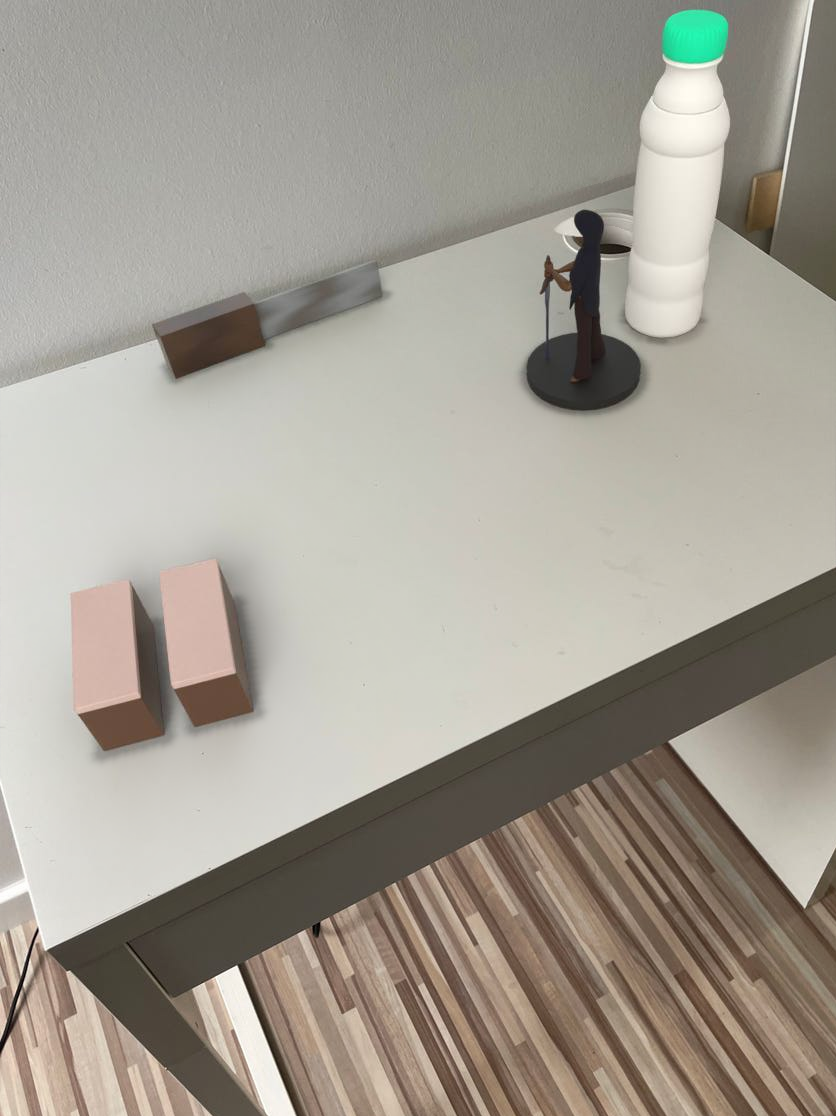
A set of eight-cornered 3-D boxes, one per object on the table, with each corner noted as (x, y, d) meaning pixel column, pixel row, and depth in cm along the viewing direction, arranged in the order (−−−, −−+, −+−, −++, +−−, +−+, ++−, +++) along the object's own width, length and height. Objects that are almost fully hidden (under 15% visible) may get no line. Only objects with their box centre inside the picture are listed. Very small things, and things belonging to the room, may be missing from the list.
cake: (98, 638, 68) (70, 592, 64) (235, 604, 69) (216, 557, 65) (103, 752, 62) (73, 709, 58) (253, 712, 63) (234, 667, 59)
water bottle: (679, 349, 85) (721, 43, 65) (610, 327, 87) (631, 27, 68) (712, 310, 88) (762, 8, 69) (645, 290, 91) (674, -6, 71)
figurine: (552, 331, 88) (554, 170, 76) (655, 354, 85) (674, 191, 73) (508, 394, 82) (503, 231, 70) (616, 421, 79) (629, 256, 67)
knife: (175, 379, 86) (160, 336, 82) (167, 365, 87) (151, 323, 84) (387, 301, 92) (381, 258, 89) (376, 289, 93) (370, 247, 90)
